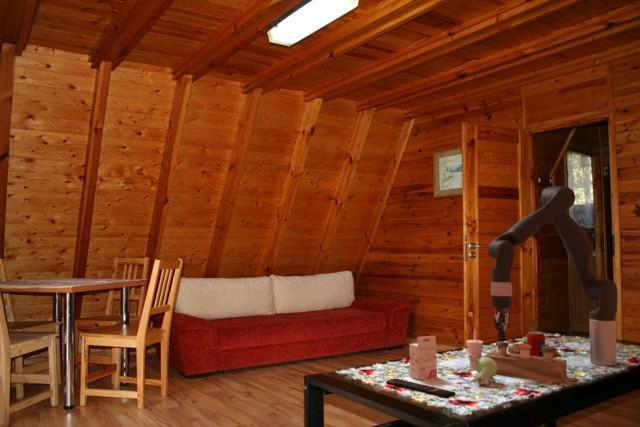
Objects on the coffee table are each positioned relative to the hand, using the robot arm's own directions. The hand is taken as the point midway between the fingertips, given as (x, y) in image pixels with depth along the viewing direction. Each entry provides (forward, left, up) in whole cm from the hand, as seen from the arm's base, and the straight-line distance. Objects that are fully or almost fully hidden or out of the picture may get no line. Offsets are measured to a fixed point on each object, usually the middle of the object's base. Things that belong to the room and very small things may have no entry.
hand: (502, 341), depth 198 cm
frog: (+20, -1, -11) cm, 23 cm away
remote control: (+39, -16, -12) cm, 44 cm away
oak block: (0, +8, -11) cm, 14 cm away
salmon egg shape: (0, +8, -8) cm, 11 cm away
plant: (-42, +1, -12) cm, 44 cm away
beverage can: (-22, +7, -11) cm, 26 cm away
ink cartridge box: (+24, -21, -11) cm, 34 cm away
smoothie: (-2, -11, -11) cm, 16 cm away
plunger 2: (0, +16, -8) cm, 18 cm away
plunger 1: (0, 0, -8) cm, 8 cm away
